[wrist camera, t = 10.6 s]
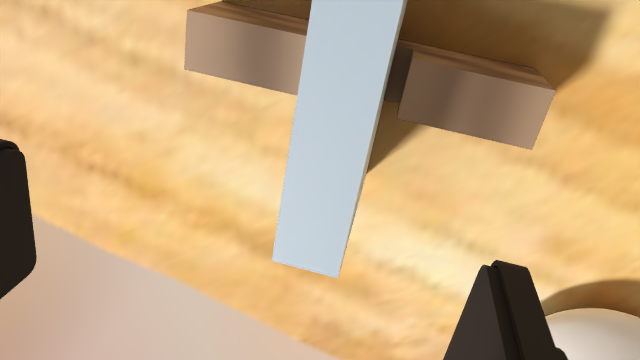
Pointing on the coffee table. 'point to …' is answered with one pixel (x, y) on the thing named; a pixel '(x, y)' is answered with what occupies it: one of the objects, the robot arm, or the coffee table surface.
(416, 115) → the brown notched bar
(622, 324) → the flower in vase
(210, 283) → the coffee table surface
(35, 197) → the coffee table surface
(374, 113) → the blue grey notched plate
